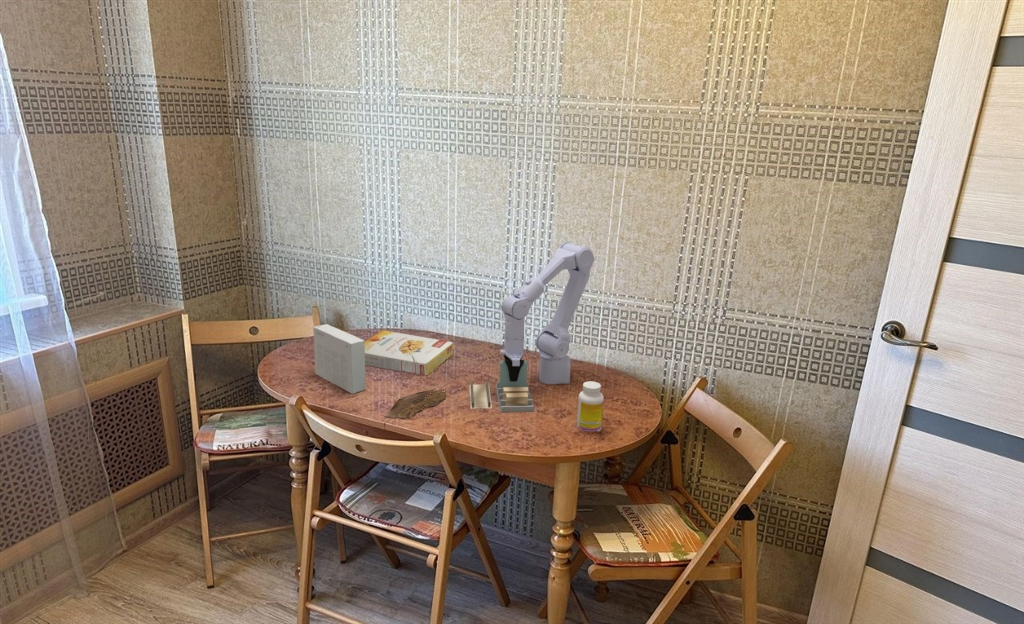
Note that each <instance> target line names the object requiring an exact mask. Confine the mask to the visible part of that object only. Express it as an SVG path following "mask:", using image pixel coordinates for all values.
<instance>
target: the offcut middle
mask: <svg viewBox="0 0 1024 624" xmlns="http://www.w3.org/2000/svg"><path fill="white" fill-rule="evenodd" d="M506 393H527V394H528V387H503V400H506Z"/></svg>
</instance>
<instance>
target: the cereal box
mask: <svg viewBox="0 0 1024 624" xmlns="http://www.w3.org/2000/svg"><path fill="white" fill-rule="evenodd" d="M364 343H365V366H369V367H373V368H374V367H375V368H379V369H386V370H390V369H391V370H392V369H393V370H392V371H396V370H399V371H398V372H402V371H405V372H404V373H407V372H411V373H410V374H413V373H416V374H415V375H418V374H422V375H421V376H424V375H428V374H429V373H430V372H431V373H432V372H434V371H435V370H436V369H437V368H439V367H440V366H441V365H442V364H443V362H444V361H445V360H446V359H447V360H448V359H449V357H450V356H451V355H452V354H453V355H454V342H453V341H447V340H442V339H435V338H430V337H424V336H419V335H413V334H408V333H402V332H395V331H389V330H384V329H382V330H380V331H379V332H378V333H376V334H375V335H373V336H371V337H370V338H368V339H367V340H364ZM453 355H452V356H453ZM452 356H451V357H452ZM451 357H450V358H451ZM447 360H446V361H447ZM446 361H445V362H446ZM445 362H444V363H445ZM441 363H442V364H441ZM440 364H441V365H440ZM439 365H440V366H439ZM438 366H439V367H438ZM436 367H437V368H436ZM435 368H436V369H435ZM434 369H435V370H434ZM433 370H434V371H433ZM431 373H430V374H431ZM430 374H429V375H430ZM429 375H428V376H429Z"/></svg>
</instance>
